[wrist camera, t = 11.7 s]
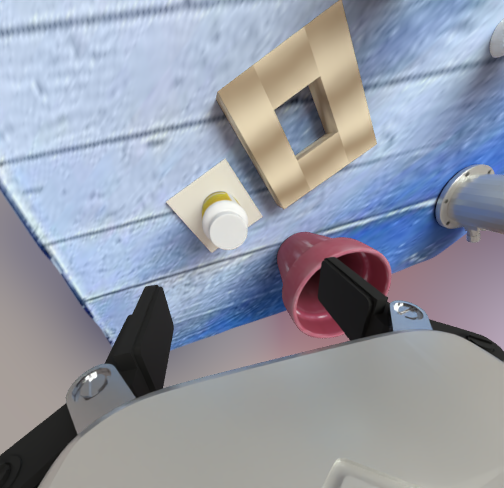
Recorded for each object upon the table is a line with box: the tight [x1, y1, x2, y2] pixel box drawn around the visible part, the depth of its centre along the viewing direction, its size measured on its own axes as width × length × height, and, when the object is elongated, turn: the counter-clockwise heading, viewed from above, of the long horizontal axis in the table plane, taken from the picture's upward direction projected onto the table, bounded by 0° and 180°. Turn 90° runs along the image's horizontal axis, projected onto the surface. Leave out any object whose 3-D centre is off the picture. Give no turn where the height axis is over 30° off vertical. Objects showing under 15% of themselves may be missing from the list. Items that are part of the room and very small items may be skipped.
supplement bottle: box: [202, 191, 248, 250], centre depth 24 cm, size 5×5×10 cm
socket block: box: [216, 0, 377, 209], centre depth 26 cm, size 16×16×3 cm
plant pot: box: [277, 232, 391, 338], centre depth 30 cm, size 14×14×13 cm
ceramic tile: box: [166, 159, 263, 253], centre depth 29 cm, size 10×10×1 cm
